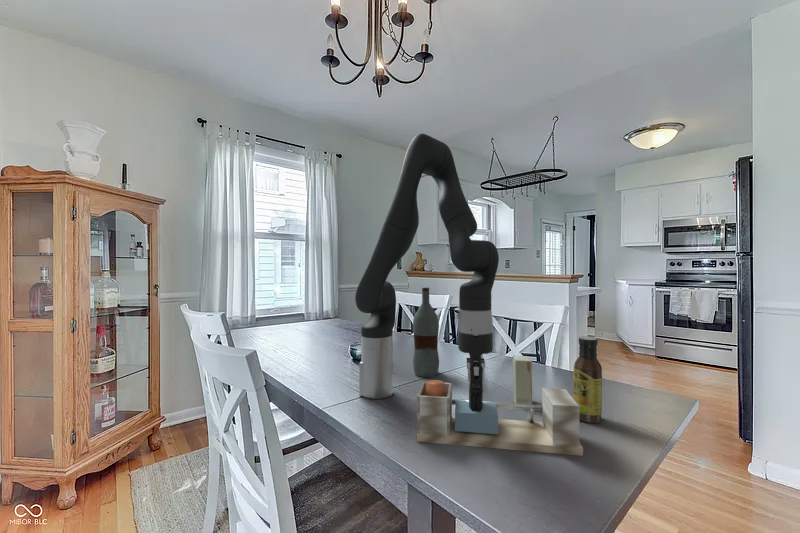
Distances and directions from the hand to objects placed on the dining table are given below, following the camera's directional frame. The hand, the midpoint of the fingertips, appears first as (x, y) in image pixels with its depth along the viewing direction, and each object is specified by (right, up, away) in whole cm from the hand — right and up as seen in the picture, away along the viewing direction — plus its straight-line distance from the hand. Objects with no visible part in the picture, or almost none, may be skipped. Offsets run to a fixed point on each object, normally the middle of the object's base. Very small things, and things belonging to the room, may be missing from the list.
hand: (475, 404), depth 79 cm
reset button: (-9, 0, +2) cm, 9 cm away
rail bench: (+4, -7, -1) cm, 8 cm away
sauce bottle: (+29, -7, +8) cm, 31 cm away
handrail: (+6, -5, +4) cm, 9 cm away
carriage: (0, -5, 0) cm, 5 cm away
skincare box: (+17, -7, +18) cm, 26 cm away
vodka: (-8, -7, +45) cm, 46 cm away
